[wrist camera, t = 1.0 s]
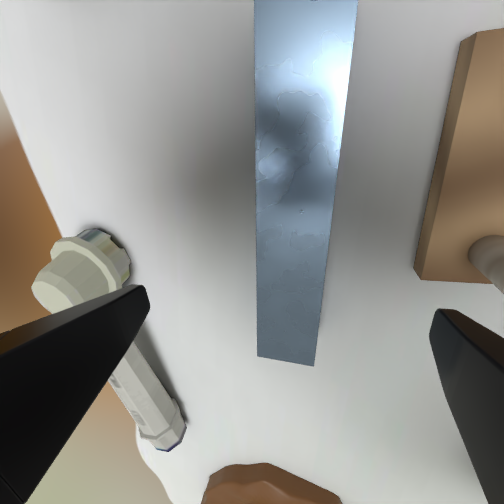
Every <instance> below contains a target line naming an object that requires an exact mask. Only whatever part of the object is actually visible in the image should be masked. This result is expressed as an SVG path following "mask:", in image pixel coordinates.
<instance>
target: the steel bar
mask: <svg viewBox="0 0 504 504" xmlns="http://www.w3.org/2000/svg"><path fill="white" fill-rule="evenodd" d="M357 7H358V0H254V36H255V152H256V267H257V356H259V357H264V358H270V359H275V360H281V361H286V362H292V363H297V364H303V365H308V366H314V361H315V353H316V345H317V336H318V328H319V320H320V312H321V303H322V295H323V287H324V279H325V270H326V262H327V254H328V246H329V238H330V229H331V221H332V213H333V205H334V196H335V188H336V180H337V172H338V163H339V155H340V147H341V139H342V130H343V122H344V114H345V106H346V97H347V89H348V81H349V73H350V65H351V56H352V48H353V40H354V32H355V23H356V15H357Z"/></svg>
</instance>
